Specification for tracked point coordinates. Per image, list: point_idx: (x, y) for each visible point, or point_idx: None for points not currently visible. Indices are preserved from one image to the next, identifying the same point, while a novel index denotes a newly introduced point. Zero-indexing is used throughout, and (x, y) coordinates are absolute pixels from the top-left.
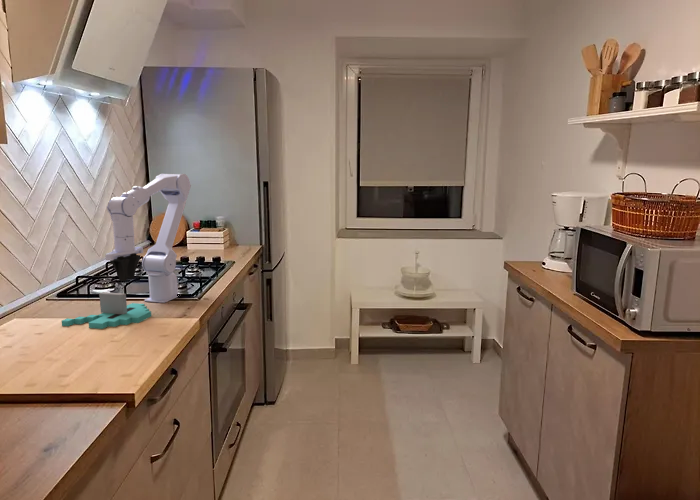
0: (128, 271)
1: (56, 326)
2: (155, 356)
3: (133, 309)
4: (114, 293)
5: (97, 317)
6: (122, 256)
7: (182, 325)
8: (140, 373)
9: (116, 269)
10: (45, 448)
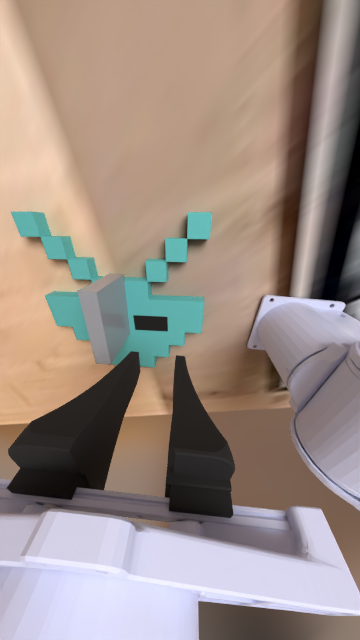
0: (174, 384)
1: (12, 200)
2: (39, 416)
3: (155, 332)
4: (99, 337)
5: (92, 278)
6: (69, 508)
7: (132, 409)
8: (6, 419)
9: (96, 388)
10: None
